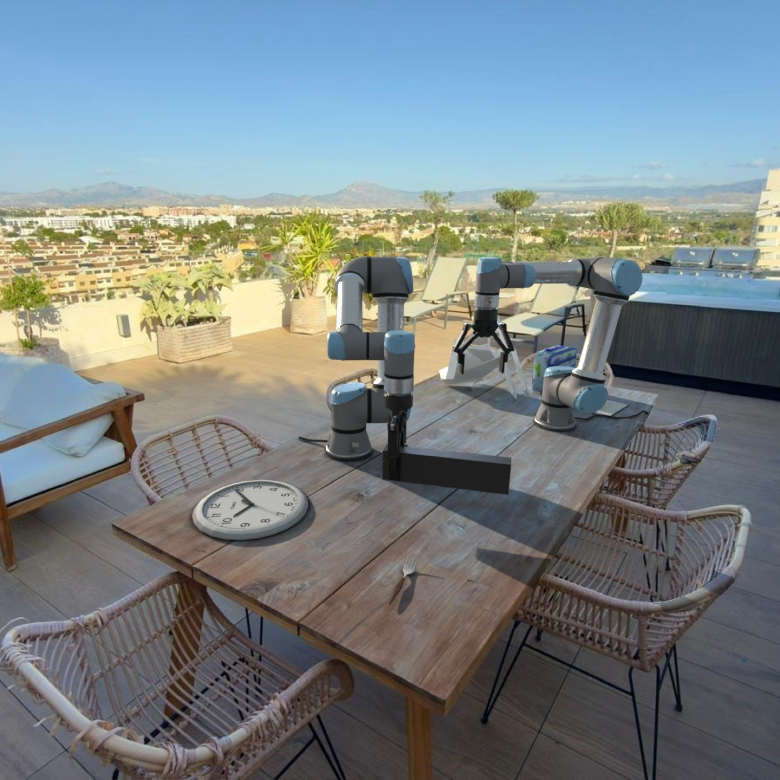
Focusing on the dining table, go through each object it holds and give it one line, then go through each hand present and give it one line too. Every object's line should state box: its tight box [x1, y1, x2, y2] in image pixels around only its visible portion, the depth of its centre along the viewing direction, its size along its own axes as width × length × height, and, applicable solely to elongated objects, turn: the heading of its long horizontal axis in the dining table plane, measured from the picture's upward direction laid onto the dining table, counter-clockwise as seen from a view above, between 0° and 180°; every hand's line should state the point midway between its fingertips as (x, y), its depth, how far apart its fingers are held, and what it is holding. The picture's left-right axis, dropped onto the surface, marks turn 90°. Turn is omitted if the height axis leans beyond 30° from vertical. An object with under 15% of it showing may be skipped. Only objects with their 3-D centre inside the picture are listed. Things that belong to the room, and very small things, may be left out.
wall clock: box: [191, 479, 309, 541], centre depth 140 cm, size 30×2×30 cm
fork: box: [388, 554, 419, 606], centre depth 112 cm, size 3×16×2 cm, turn 160°
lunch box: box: [531, 345, 577, 393], centre depth 245 cm, size 26×11×21 cm, turn 134°
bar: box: [381, 443, 512, 496], centre depth 136 cm, size 33×4×8 cm, turn 77°
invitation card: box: [594, 399, 629, 416], centre depth 226 cm, size 21×1×15 cm
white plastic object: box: [438, 315, 531, 400], centre depth 245 cm, size 37×45×31 cm
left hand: (396, 475), depth 140 cm, fingers closed on bar, 4 cm apart
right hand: (481, 372), depth 172 cm, fingers open, 13 cm apart
